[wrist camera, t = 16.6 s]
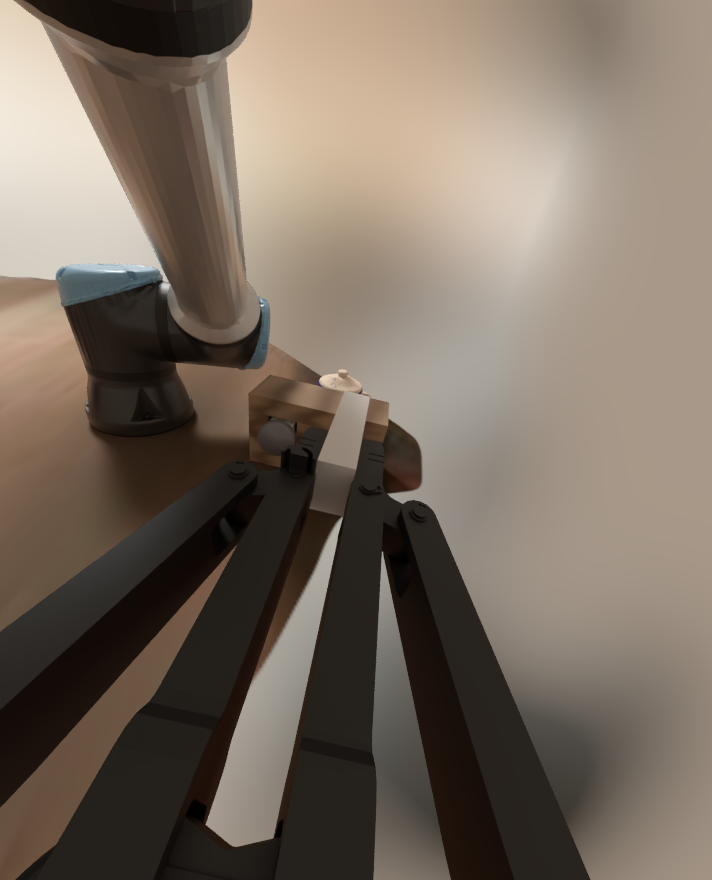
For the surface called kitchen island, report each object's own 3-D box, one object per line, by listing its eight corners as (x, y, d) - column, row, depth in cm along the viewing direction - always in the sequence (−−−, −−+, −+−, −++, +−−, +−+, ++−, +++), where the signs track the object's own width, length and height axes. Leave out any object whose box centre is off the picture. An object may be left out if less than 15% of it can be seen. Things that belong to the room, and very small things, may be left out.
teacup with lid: (317, 432, 56) (325, 378, 49) (310, 410, 63) (316, 360, 56) (372, 432, 60) (385, 383, 54) (359, 412, 67) (370, 365, 61)
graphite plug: (257, 451, 40) (257, 421, 37) (285, 413, 51) (287, 387, 48) (291, 459, 40) (294, 429, 37) (313, 419, 51) (316, 394, 48)
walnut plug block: (249, 460, 45) (248, 393, 38) (268, 435, 52) (270, 374, 45) (369, 488, 45) (387, 426, 38) (372, 459, 52) (388, 402, 45)
